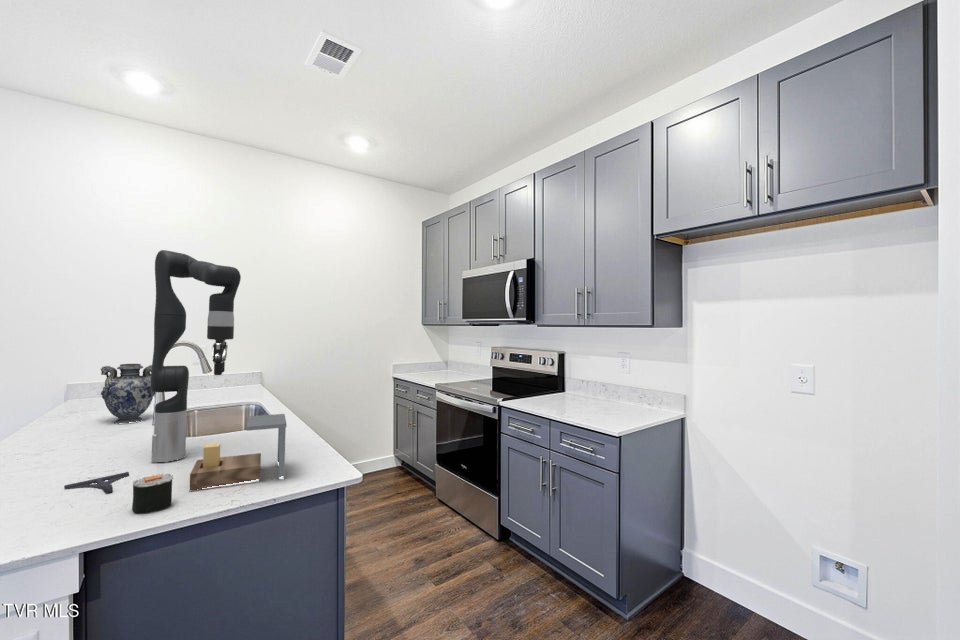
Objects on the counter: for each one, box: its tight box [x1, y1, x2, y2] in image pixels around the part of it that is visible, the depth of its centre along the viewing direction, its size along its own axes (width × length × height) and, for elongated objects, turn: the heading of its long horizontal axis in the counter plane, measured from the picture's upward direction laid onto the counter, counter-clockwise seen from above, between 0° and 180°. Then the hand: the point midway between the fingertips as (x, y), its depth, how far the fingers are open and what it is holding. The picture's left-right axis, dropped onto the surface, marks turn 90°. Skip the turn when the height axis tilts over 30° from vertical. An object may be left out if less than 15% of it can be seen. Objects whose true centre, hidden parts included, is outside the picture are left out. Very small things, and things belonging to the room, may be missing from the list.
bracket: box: [63, 471, 130, 495], centre depth 121 cm, size 14×15×3 cm
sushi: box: [131, 473, 174, 515], centre depth 109 cm, size 8×8×8 cm
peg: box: [202, 442, 221, 468], centre depth 128 cm, size 4×4×10 cm
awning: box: [246, 413, 287, 477], centre depth 135 cm, size 11×16×18 cm
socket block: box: [189, 452, 262, 491], centre depth 130 cm, size 18×14×5 cm
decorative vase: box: [100, 363, 156, 424], centre depth 201 cm, size 21×19×28 cm
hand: (219, 373), depth 137 cm, fingers open, 8 cm apart
